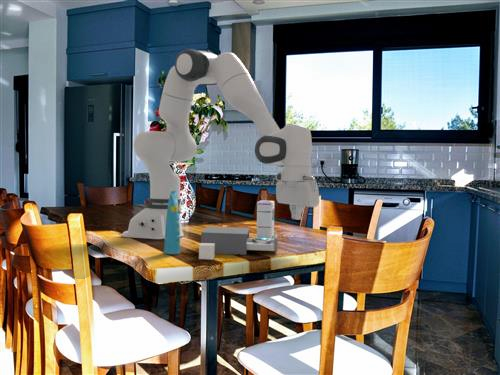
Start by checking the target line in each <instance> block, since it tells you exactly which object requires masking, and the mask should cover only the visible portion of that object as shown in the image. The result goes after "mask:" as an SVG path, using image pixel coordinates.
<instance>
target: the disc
mask: <svg viewBox="0 0 500 375" xmlns="http://www.w3.org/2000/svg"><path fill="white" fill-rule="evenodd" d="M252 239H253V243H252V244H271V239H269V238H263V237H258V238H257V237H253V238H252Z"/></svg>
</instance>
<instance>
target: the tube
mask: <svg viewBox="0 0 500 375" xmlns="http://www.w3.org/2000/svg"><path fill="white" fill-rule="evenodd" d="M163 246H164V248H163V253H164V254H165V255H179V254H180V253H181V237H180V225H179V207H178V198H177V191H176V190H175V191H171V193H170V197H169V202H168V209H167V218H166V230H165V239H164V244H163Z"/></svg>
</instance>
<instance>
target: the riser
mask: <svg viewBox="0 0 500 375" xmlns="http://www.w3.org/2000/svg"><path fill="white" fill-rule="evenodd" d="M215 256H216V254H215V243H201V242H200V244H199V246H198V260H214V259H215Z"/></svg>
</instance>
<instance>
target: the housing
mask: <svg viewBox="0 0 500 375" xmlns="http://www.w3.org/2000/svg"><path fill="white" fill-rule="evenodd" d="M247 238H250V227H236V226H235V227H232V226H231V227H229V226H207V227H206V228H204V229H203V230H202V231H201V232H200V244H201V243H215V255H217V254H218V255H237V254H240V255H243V256H245V255H247V254H248V251H249V250H246V247H247Z"/></svg>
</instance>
